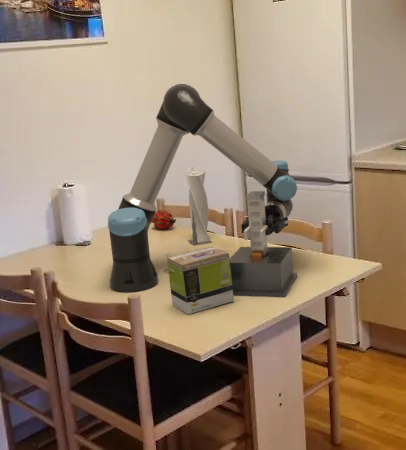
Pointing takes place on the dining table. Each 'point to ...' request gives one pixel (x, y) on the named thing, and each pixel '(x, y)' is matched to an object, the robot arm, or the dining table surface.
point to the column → (257, 221)
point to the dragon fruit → (163, 220)
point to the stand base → (262, 272)
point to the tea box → (200, 279)
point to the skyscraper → (198, 207)
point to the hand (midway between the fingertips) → (253, 235)
